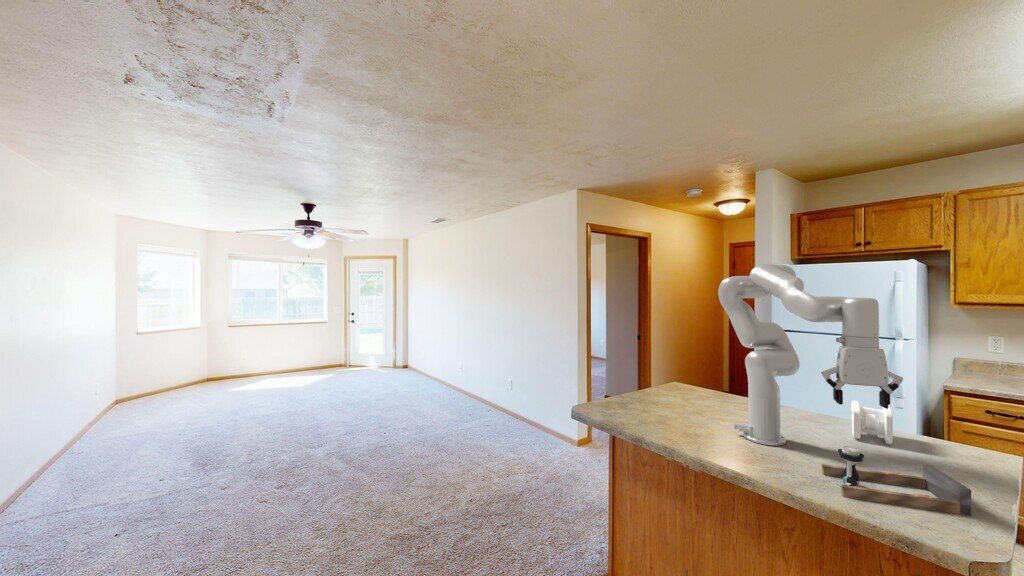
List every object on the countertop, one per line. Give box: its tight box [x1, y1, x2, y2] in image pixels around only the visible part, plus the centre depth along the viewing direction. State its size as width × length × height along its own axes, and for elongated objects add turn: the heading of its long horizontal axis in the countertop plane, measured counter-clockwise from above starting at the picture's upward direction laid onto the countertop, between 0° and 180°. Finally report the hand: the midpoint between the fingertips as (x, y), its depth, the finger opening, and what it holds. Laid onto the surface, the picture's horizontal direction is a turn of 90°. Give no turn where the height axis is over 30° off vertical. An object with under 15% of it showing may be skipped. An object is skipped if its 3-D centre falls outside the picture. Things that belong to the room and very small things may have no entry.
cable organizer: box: [850, 399, 894, 446], centre depth 138 cm, size 15×11×12 cm
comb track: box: [821, 463, 972, 516], centre depth 102 cm, size 24×14×6 cm, turn 70°
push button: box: [837, 446, 865, 487], centre depth 104 cm, size 7×5×10 cm
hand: (861, 405), depth 106 cm, fingers open, 9 cm apart
